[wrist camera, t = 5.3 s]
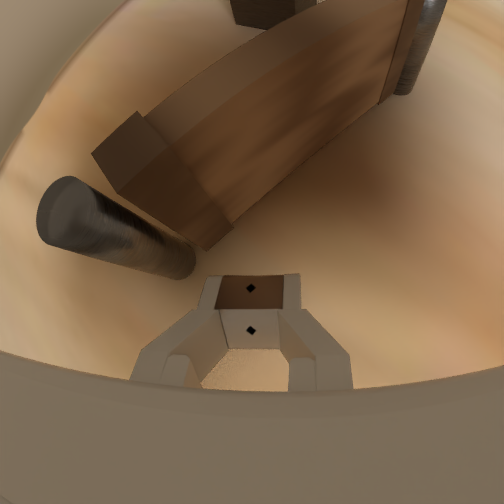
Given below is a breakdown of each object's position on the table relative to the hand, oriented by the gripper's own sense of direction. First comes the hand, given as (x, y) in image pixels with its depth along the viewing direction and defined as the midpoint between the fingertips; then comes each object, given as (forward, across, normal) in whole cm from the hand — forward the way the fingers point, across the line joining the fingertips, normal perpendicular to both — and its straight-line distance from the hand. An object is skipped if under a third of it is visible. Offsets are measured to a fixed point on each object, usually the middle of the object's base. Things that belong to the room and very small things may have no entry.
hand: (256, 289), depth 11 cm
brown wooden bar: (+9, -2, -2) cm, 9 cm away
